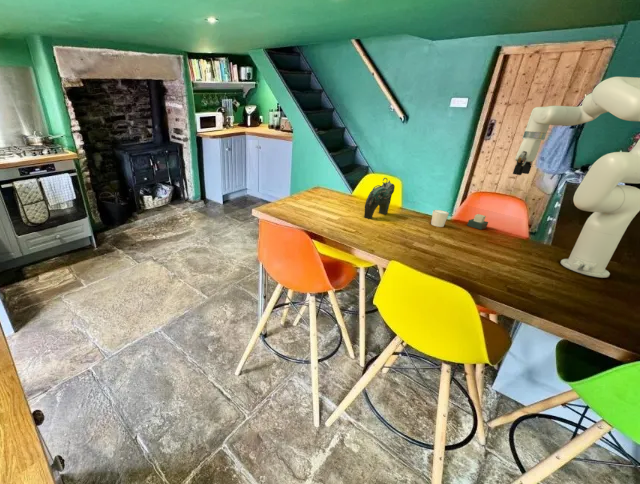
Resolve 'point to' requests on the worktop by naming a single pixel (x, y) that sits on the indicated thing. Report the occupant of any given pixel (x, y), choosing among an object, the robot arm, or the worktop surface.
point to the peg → (479, 218)
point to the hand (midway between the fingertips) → (520, 174)
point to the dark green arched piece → (379, 199)
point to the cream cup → (439, 218)
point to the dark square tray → (477, 224)
